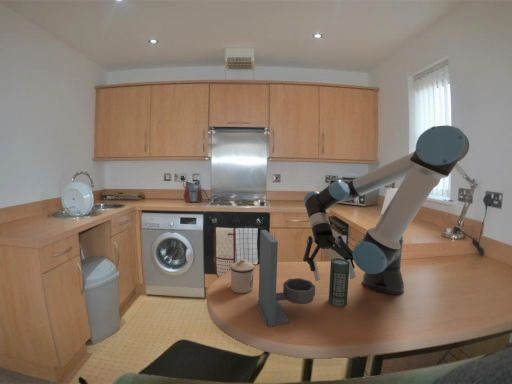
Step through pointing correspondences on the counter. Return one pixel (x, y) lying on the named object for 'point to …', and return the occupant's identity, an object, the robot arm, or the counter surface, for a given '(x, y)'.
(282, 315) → the cup bracket
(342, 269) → the can
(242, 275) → the teacup with lid
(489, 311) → the counter surface
